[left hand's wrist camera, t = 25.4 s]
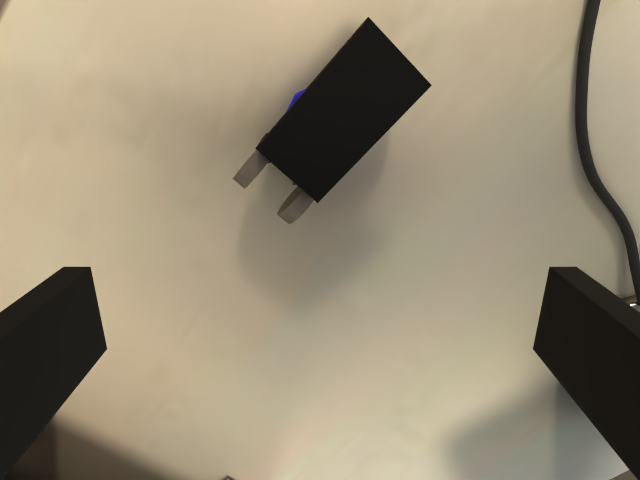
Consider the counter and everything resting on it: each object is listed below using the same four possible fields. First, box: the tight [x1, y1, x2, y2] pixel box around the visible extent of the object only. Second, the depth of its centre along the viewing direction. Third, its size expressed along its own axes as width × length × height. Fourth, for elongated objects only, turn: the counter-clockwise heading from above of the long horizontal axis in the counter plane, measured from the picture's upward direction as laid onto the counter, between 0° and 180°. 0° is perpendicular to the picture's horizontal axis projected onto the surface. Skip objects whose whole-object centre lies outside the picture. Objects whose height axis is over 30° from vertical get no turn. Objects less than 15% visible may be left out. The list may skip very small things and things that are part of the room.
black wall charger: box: [233, 17, 431, 224], centre depth 33 cm, size 7×8×15 cm
